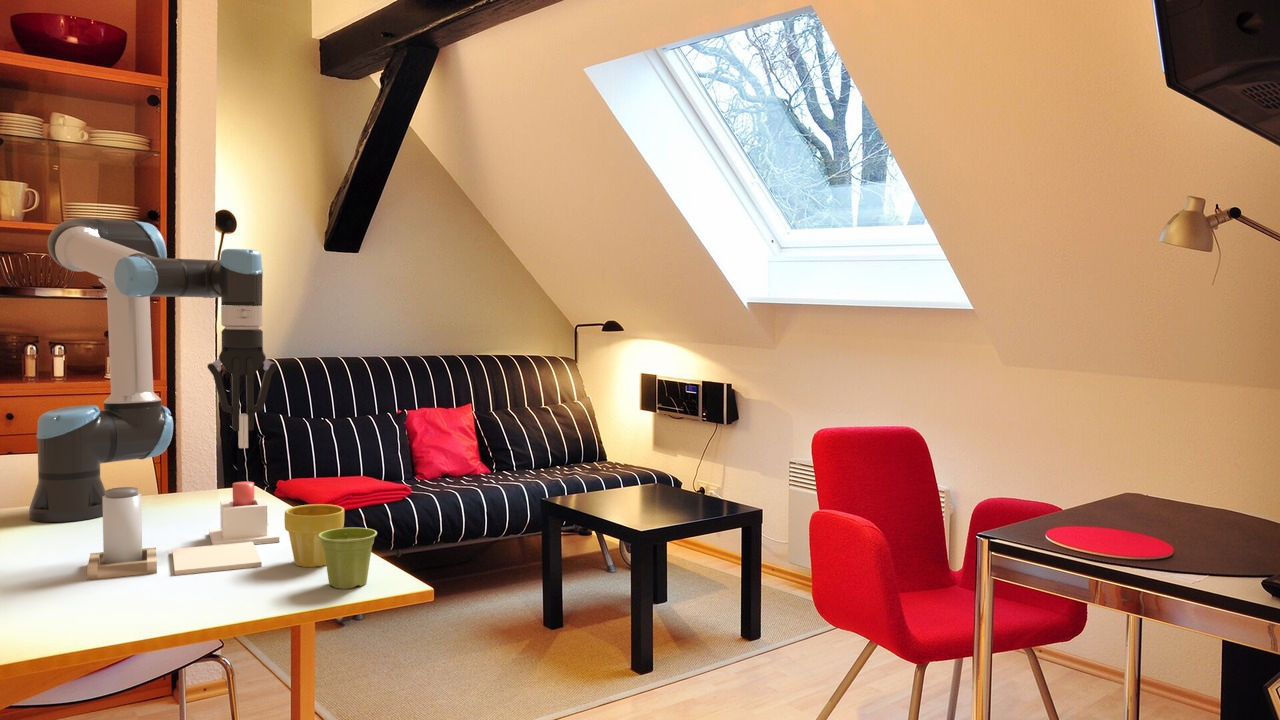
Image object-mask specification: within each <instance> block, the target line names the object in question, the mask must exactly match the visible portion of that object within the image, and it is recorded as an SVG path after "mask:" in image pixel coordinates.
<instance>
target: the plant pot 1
mask: <svg viewBox="0 0 1280 720" xmlns="http://www.w3.org/2000/svg"><path fill="white" fill-rule="evenodd" d="M344 524H345V508H344V507H342V506H339V505H336V504H335V505H334V504H328V503H327V504H324V503H322V504H321V503H318V504H317V503H315V504H304V505H297V506H292V507H288V508H287V509H286V510H285V511H284V529H285V531H287V532H288V535H289V541H290V546H291V550H292V551H291V552H292V556H293V560H294V561H293V562H294V564H295V565H296V566H298V567H301V566H302V567H303V568H317V567H316V566H320V567H324V566H323V565H325V566H326V559H325V553H324V547H323V546H322V541H321V539H320V538H319V534H320V533H321V532H324V531H327V530H332V529H338V528H344V527H345V525H344Z"/></svg>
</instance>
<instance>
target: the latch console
mask: <svg viewBox="0 0 1280 720" xmlns="http://www.w3.org/2000/svg"><path fill="white" fill-rule="evenodd" d="M219 507H220V508H219V509H220V511H219V512H220V513H219V514H220V528H210V529H208V534H209V539H210V542H211V545H221V544H232V543H243V542H253V543H254V545H261V544H272V543H273V544H274V543H280V536H279V534H278V532H277V529H276V528H275V526H274V524H273V523H270V524H268V505H267V503H266V501H265V499H264V498H263V497H261V498H260V497H259V498H254V505H249V506H236V507H233V499H232V500H231V499H230V500H220V503H219Z"/></svg>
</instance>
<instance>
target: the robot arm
mask: <svg viewBox="0 0 1280 720" xmlns="http://www.w3.org/2000/svg"><path fill="white" fill-rule="evenodd" d="M166 247H167V246H166V242H165V240H164V237H163V235H162V234H161V232H160V231H159V230H158V228H157V227H156V226H155V225H153V224H151V223H150V222H144V221H138V220H132V219H131V220H129V219H128V220H127V219H114V218H113V219H110V218H95V217H75V218H71V219H67V220H65V221H63V222H61V223H59V224H57V226H55V227H54V228H53V229H52V230H51V232H50V234H49V236H48V239H47V250H48V253H49V255H50V257H51V258H52V259H53V261H54V262H55V263H56V264H58V265H59V266H60V267H63V268H64V269H67V270H70V271H72V272H77V273H78V272H82V273H83V272H88V273H89V274H92V275H95V276H97V277H98V281H99V282H100V283H101V284H103V286H104V287H105V288H106V303H107V325H108V326H107V327H108V351H109V372H110V373H109V376H110V380H109V381H110V395H109V396H108V397H107V398H106V399H105V400H104V401H103V410H101V409H100V408H99V406H98V405H96V404H82V405H70V406H65V407H60V408H56V409H52V410H49V411H46V412H44V413H42V414H40V416H39V417H38V420H37V432H36V439H37V440H36V443H37V470H38V471H37V472H38V475H37V477H38V481H37V485H36V487H35V491H34V494H33V496H32V500H31V503H30V505H29V511H28V512H29V520H31V521H35V522H43V523H62V522H63V523H64V522H75V521H82V520H83V521H84V520H89V519H94V518H99V517H103V499H102V497H103V496H104V495H106V489H105V486H104V483H103V481H102V478H101V464H106V463H107V464H108V463H114V462H123V461H124V462H125V461H133V460H145V459H148V458H149V459H150V458H154V457H158V456H160V455H163V453H165V451H166V450H167V448H168V447H169V445H170V444H171V441H172V438H173V435H174V434H173V433H174V420H173V419H174V418H173V416H171V415H172V413H171V411H170V409H169V408H168V407H167V406H164V405H162V399H161V397H159V396H158V395H157V394H156V393H155V392H154V374H153V348H152V327H151V324H152V323H151V321H152V319H151V299H150V298H151V297H163V298H164V297H166V298H167V297H170V298H171V297H174V298H176V297H177V298H181V297H182V298H204V299H206V298H209V299H214V298H220V301H221V303H220V304H221V306H220V311H221V313H220V314H221V315H220V316H221V317H220V319H221V321H220V323H221V326H222V327H224V328H223V329H222V330H221V351H220V353H219V355H218V358H217V359H216V360H215V361H213V362H210V363H207V366H206V367H207V369H208V371H209V372H210V373H211V374H212V376H213V381H214V384H215V387H216V390H217V395H218V397H219V402H220V405H221V410H223V412H224V413H229V414H230V415H231V421H232V423H231V426H232V427H231V428H232V431H234V432H237V435H238V436H237V437H238V443H237V444H238V448H239V449H249V431H254V429H255V414H256V413H259V412H261V411H263V410H264V408H265V405H266V400H267V396H268V392H269V388H270V384H271V381H272V380H271V379H272V376H273V374H274V373H275V371H276V370H277V367H278V364H277V363H276V362H272V361H271V360H270V359H267V358H266V354H265V352H264V347H263V346H264V341H263V339H264V338H263V337H264V336H263V334H264V333H263V330H262V329H261V328H260V327H263V326H264V325H263V279H264V278H263V276H264V275H263V272H264V269H263V262H262V259H263V258H262V253H261V252H260V251H259V250H258V249H257V250H255V249H248V248H246V249H244V248H225V249H223V250H222V251H221V253H220V259H198V258H197V259H196V258H195V259H194V258H193V259H192V258H191V259H190V258H169V257H167V256H168V254H167V253H168V252H167V248H166ZM222 365H223V367H224V368H225V369H226V370H227V372H228V373H229V374H231V405H229V402H228V399H227V393H226V391H225V387H224V383H223V380H222V376H221V374H220V372H221V371H222V367H221V366H222ZM262 365H263V370H264V373H263V376H262V380H261V385H260V389H259V393H258V396H257V400H256V404H255V397H254V396H255V391H254V390H255V389H254V388H255V386H254V385H255V384H254V380H255V374H256V372H258V370H259V369H260V368H261V366H262ZM242 375H245V400H246V402H245V403H246V404H245V405H246V409H245V410H246V413H240V377H241V376H242Z"/></svg>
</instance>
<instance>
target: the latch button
mask: <svg viewBox="0 0 1280 720" xmlns="http://www.w3.org/2000/svg"><path fill="white" fill-rule="evenodd" d="M254 499H255V482H253V481H236V482H233V483H232V500H233V507H236V506H249V505H254Z"/></svg>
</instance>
